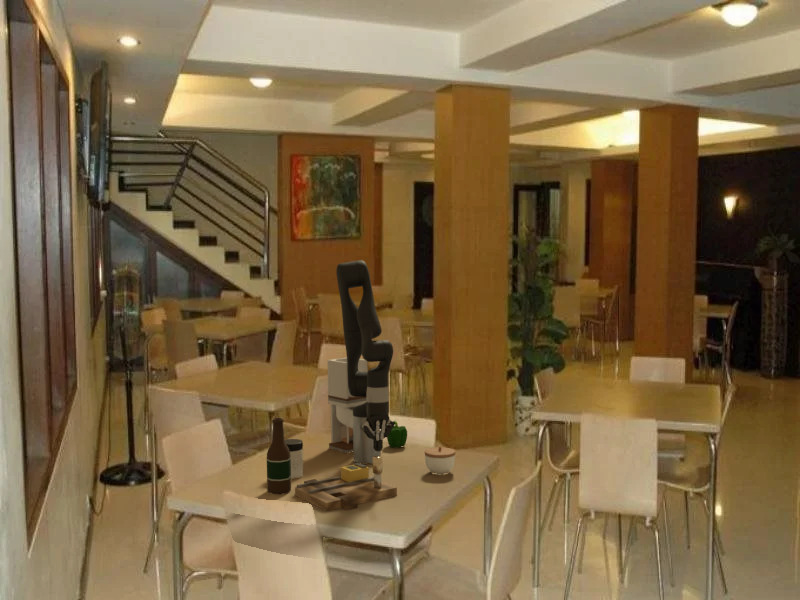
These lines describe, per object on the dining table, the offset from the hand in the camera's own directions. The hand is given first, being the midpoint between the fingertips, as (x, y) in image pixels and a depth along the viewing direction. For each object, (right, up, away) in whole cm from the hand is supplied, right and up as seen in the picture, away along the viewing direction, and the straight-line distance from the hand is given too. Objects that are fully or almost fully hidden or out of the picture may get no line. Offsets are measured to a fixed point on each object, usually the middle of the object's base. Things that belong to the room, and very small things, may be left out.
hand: (378, 450), depth 286 cm
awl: (0, -9, -14) cm, 17 cm away
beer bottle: (-32, -12, -8) cm, 35 cm away
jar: (-30, -11, +10) cm, 34 cm away
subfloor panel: (-10, -12, -13) cm, 20 cm away
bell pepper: (+6, -7, +49) cm, 50 cm away
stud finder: (-8, -9, -5) cm, 12 cm away
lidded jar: (+21, -10, +12) cm, 26 cm away
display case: (-13, -8, +47) cm, 50 cm away
